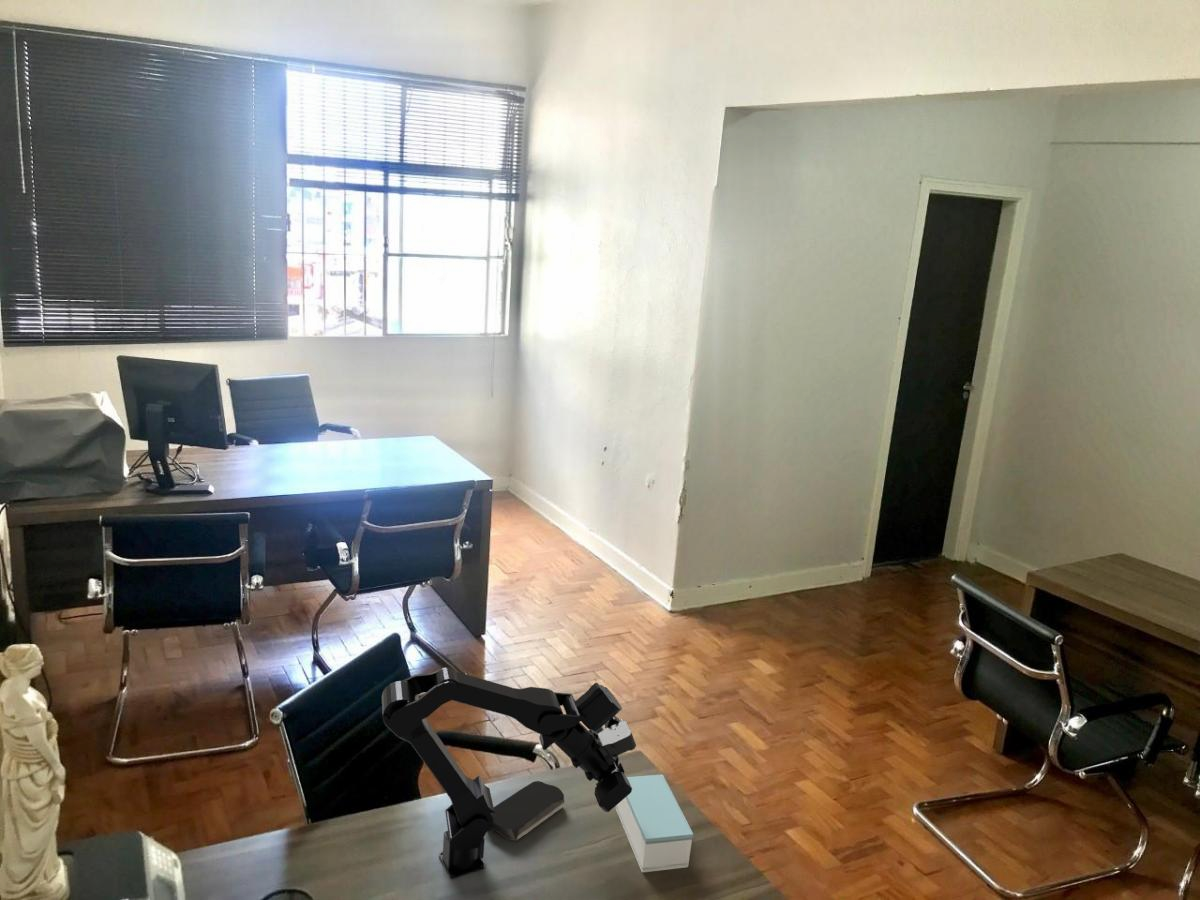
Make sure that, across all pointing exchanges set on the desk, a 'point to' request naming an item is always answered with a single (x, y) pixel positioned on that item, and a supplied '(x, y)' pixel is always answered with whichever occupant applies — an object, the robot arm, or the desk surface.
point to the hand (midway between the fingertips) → (629, 792)
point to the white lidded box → (653, 845)
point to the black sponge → (526, 809)
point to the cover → (656, 809)
